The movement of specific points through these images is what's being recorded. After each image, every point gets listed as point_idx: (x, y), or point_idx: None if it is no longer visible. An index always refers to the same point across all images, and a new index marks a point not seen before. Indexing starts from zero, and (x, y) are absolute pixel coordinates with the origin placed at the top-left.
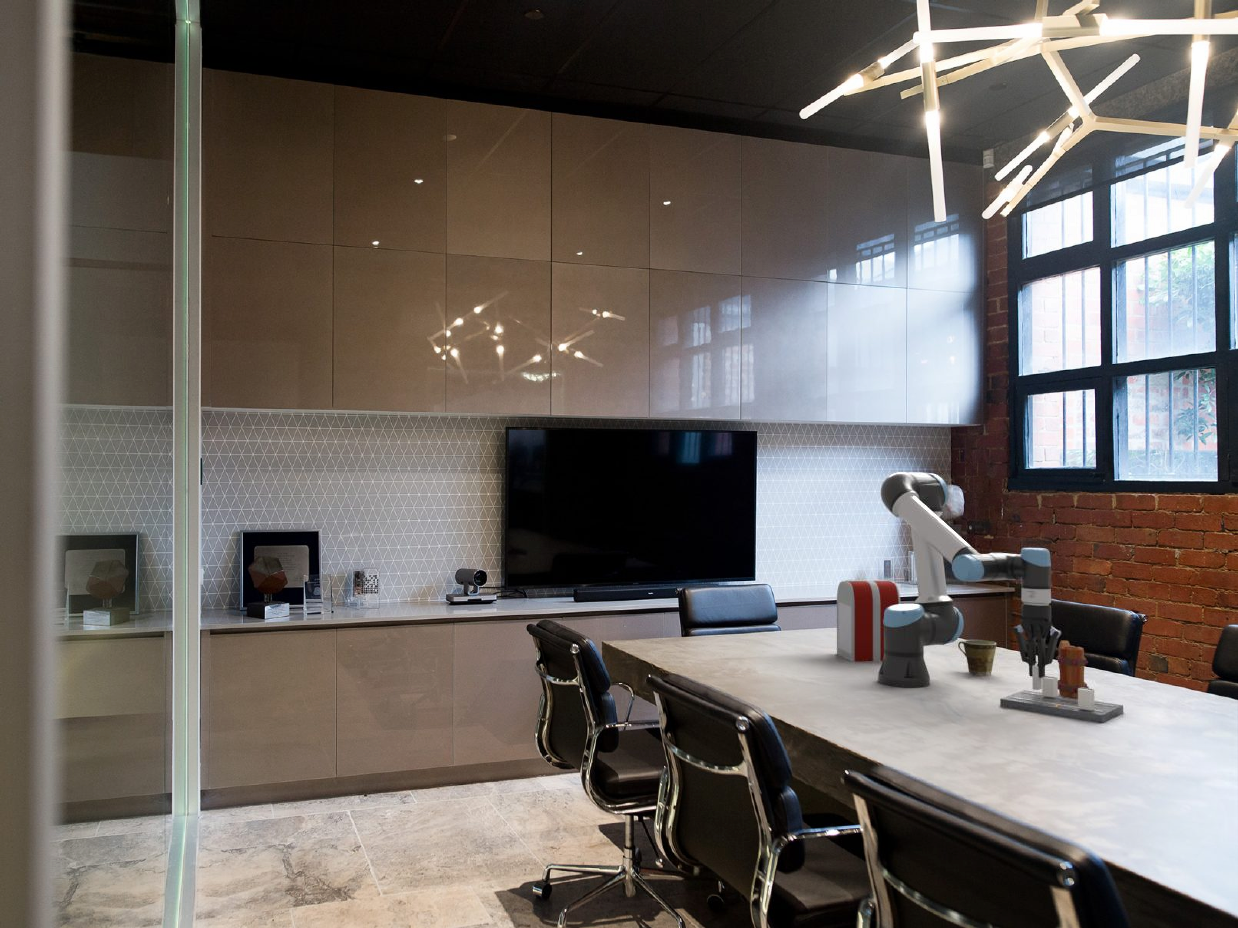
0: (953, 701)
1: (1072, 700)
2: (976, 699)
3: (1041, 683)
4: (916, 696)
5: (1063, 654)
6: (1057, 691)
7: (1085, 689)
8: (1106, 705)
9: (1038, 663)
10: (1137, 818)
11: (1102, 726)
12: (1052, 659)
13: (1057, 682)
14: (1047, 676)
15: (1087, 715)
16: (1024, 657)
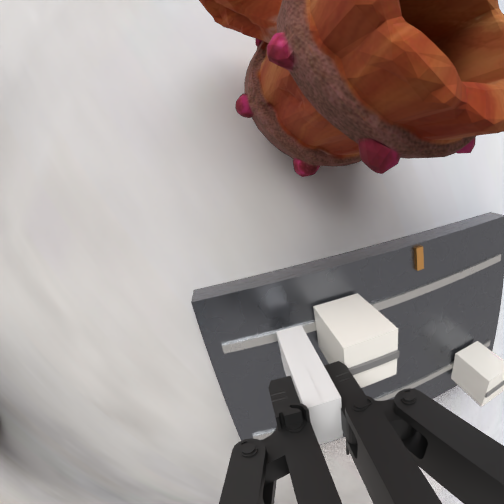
0: (150, 478)
1: (412, 296)
2: (150, 435)
3: (308, 340)
4: (83, 481)
5: (419, 118)
6: (365, 301)
7: (495, 392)
8: (487, 265)
9: (351, 445)
10: None
11: None
12: (432, 405)
13: (385, 317)
14: (364, 371)
15: None
16: (267, 491)
